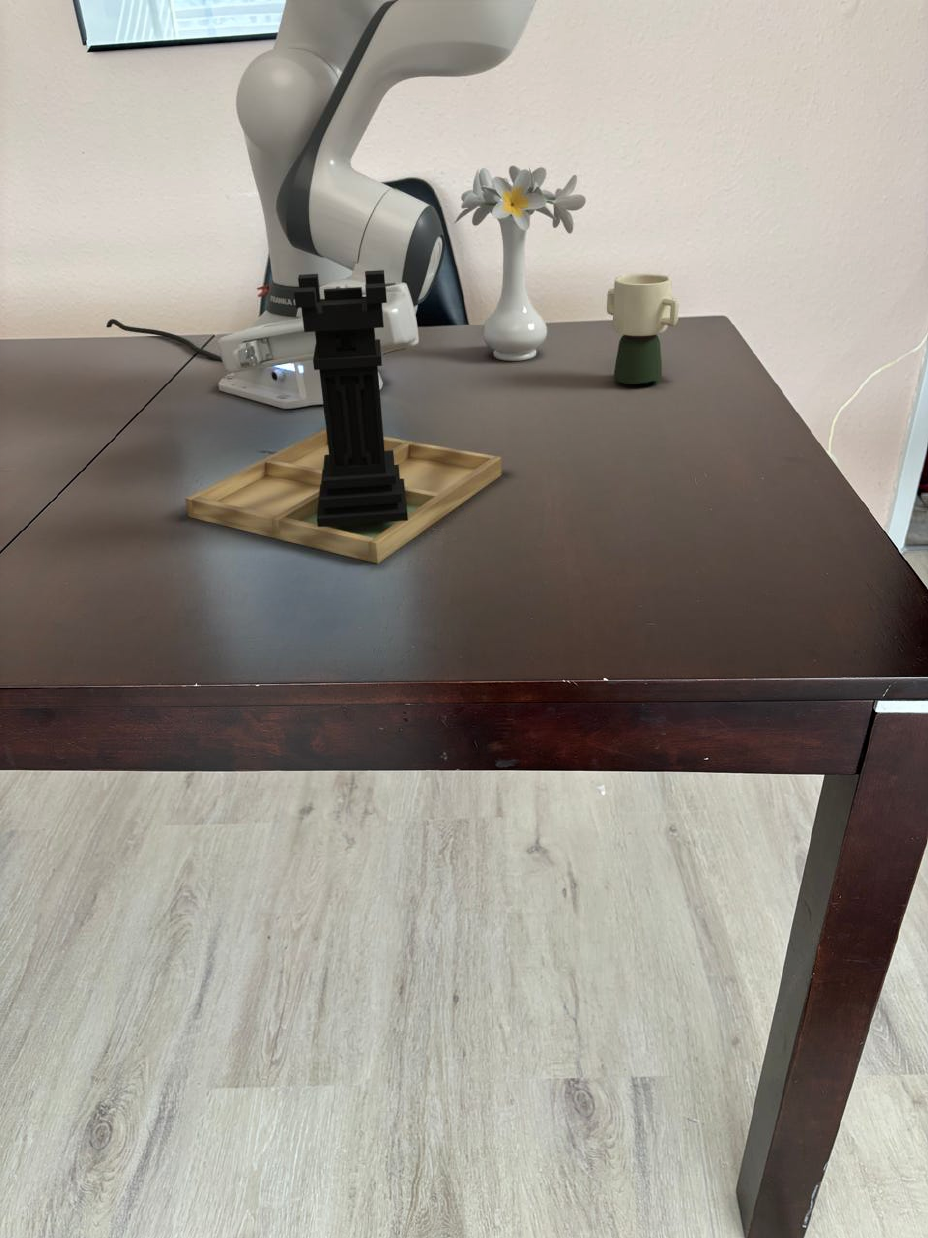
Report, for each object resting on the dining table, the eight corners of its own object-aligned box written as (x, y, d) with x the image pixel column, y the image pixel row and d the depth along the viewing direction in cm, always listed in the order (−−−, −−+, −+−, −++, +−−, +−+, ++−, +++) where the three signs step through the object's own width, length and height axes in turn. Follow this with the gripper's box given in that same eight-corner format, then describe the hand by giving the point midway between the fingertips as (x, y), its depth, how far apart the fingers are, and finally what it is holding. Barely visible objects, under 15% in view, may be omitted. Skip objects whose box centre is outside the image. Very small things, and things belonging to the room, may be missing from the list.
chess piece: (321, 491, 91) (294, 274, 81) (404, 486, 92) (388, 268, 82) (317, 526, 84) (288, 293, 74) (407, 520, 85) (390, 287, 75)
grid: (188, 517, 92) (184, 498, 91) (329, 443, 109) (327, 426, 108) (378, 564, 82) (376, 543, 81) (501, 475, 98) (501, 456, 97)
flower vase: (593, 349, 139) (599, 160, 126) (498, 376, 129) (495, 173, 116) (531, 334, 148) (531, 156, 135) (439, 358, 138) (429, 168, 125)
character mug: (688, 383, 123) (697, 279, 116) (654, 396, 119) (661, 288, 112) (621, 368, 130) (626, 269, 123) (587, 380, 126) (590, 277, 119)
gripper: (246, 312, 104) (180, 335, 92) (420, 278, 97) (373, 299, 85) (263, 370, 106) (200, 400, 94) (433, 341, 100) (389, 369, 88)
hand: (284, 351), depth 90 cm, fingers open, 8 cm apart
